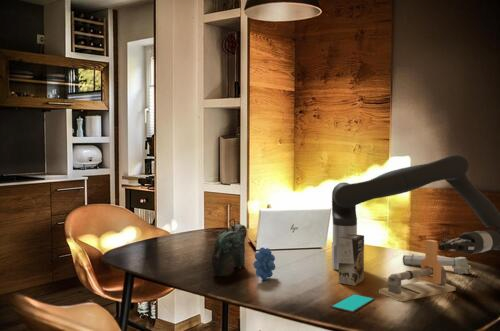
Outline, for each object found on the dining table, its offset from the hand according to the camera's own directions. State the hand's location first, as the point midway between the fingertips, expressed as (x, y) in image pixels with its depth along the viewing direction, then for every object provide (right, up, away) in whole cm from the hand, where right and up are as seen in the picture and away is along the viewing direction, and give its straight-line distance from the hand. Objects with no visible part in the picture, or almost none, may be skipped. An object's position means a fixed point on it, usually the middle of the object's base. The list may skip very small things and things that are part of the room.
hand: (440, 247), depth 169 cm
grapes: (-58, -14, +10) cm, 61 cm away
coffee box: (-28, -14, +8) cm, 33 cm away
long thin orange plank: (-4, -11, -1) cm, 12 cm away
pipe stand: (-9, -14, -4) cm, 17 cm away
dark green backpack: (-72, -13, +22) cm, 76 cm away
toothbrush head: (+8, -13, +25) cm, 29 cm away
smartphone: (-33, -15, -16) cm, 39 cm away
